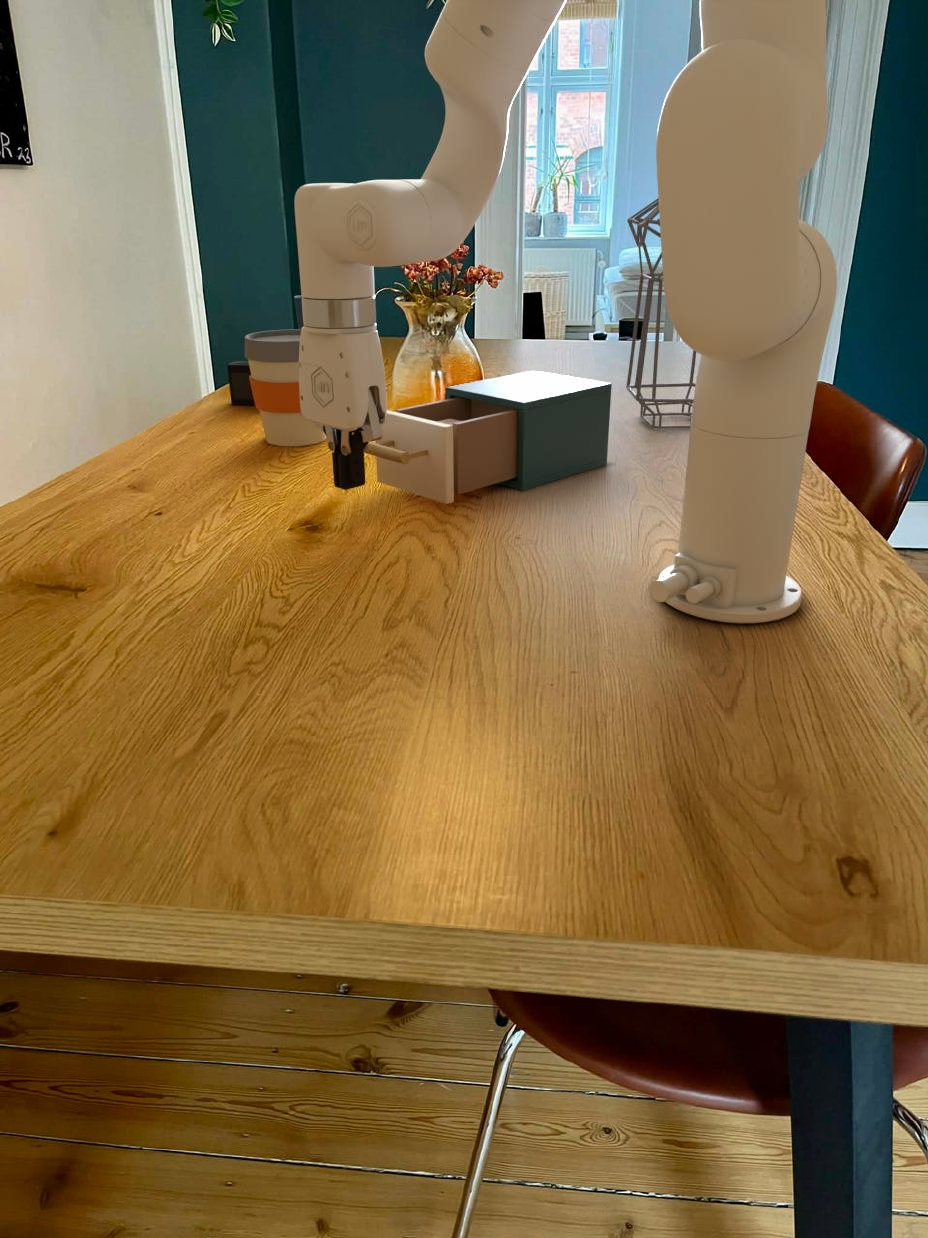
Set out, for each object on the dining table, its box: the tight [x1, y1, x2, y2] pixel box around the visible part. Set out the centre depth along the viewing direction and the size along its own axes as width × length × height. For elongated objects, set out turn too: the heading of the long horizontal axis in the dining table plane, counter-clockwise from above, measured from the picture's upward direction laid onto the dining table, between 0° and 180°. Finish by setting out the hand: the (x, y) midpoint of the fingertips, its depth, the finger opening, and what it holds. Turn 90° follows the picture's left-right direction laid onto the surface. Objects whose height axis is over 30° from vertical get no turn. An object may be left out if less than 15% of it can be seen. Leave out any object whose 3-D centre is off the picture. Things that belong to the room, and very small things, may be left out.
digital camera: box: [226, 360, 256, 407], centre depth 158 cm, size 10×5×7 cm, turn 80°
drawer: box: [364, 397, 519, 505], centre depth 111 cm, size 20×13×9 cm, turn 134°
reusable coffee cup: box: [244, 328, 327, 447], centre depth 134 cm, size 13×13×15 cm
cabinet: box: [444, 369, 613, 491], centre depth 120 cm, size 17×14×11 cm
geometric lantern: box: [625, 198, 697, 430], centre depth 138 cm, size 16×16×35 cm
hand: (350, 485), depth 102 cm, fingers closed
